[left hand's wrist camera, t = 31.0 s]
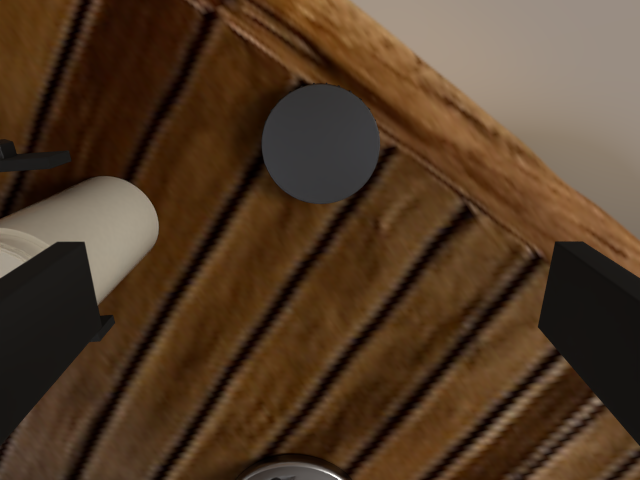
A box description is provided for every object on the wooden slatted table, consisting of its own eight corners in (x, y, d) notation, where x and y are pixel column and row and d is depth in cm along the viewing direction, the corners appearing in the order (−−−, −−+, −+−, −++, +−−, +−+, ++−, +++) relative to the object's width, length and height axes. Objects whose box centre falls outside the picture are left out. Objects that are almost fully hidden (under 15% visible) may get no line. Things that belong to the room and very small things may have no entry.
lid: (375, 197, 38) (378, 204, 36) (266, 198, 38) (263, 205, 36) (379, 82, 35) (383, 82, 33) (260, 83, 35) (256, 84, 33)
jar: (157, 269, 41) (68, 377, 26) (67, 256, 40) (-74, 358, 26) (160, 184, 38) (62, 252, 23) (63, 169, 37) (-98, 229, 23)
